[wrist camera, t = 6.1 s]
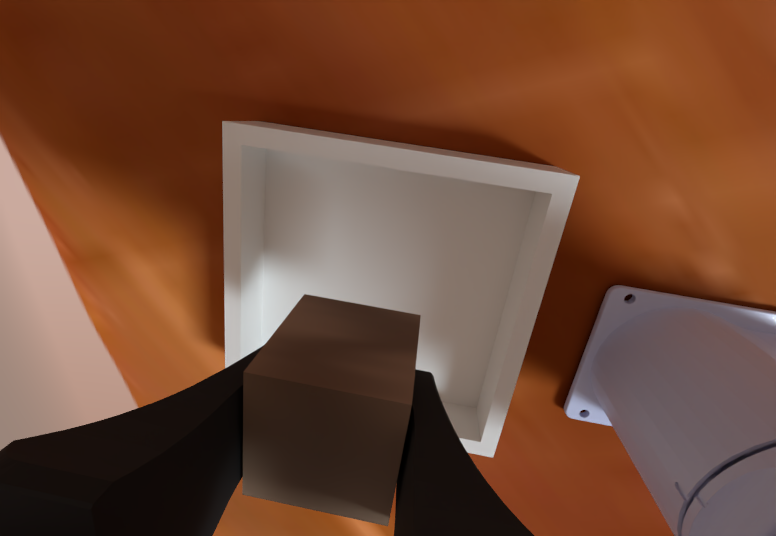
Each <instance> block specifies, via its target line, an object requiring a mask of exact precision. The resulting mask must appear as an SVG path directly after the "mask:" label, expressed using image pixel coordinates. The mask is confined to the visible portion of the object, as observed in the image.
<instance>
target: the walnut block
mask: <svg viewBox="0 0 776 536" xmlns="http://www.w3.org/2000/svg"><path fill="white" fill-rule="evenodd" d="M420 318H421V315H417V314H412V313H406V312H401V311H395V310H390V309H384V308H379V307H373V306H368V305H362V304H357V303H351V302H346V301H340V300H334V299H329V298H323V297H318V296H312V295H307V294H304V295H303V297H302V298H301V299H300V300H299V302H298V303H297V304H296V305H295V307H294V308H293V309H292V311H291V312H290V313H289V314H288V316H287V317H286V318H285V320H284V321H283V322H282V323H281V325H280V326H279V327H278V328H277V330H276V331H275V332H274V334H273V335H272V336H271V337H270V339H269V340H268V341H267V342H266V344H265V345H264V346H263V348H262V349H261V350H260V351H259V353H258V354H257V355H256V357H255V358H254V359H253V360H252V362H251V363H250V364H249V365H248V367H247V368H246V369H245V371H244V372H243V495H247V496H252V497H256V498H261V499H266V500H270V501H275V502H279V503H284V504H289V505H293V506H298V507H303V508H307V509H312V510H316V511H321V512H326V513H330V514H335V515H339V516H344V517H349V518H353V519H358V520H362V521H367V522H372V523H376V524H381V525H385V526H388V523H389V518H390V513H391V508H392V503H393V498H394V493H395V488H396V483H397V478H398V473H399V468H400V463H401V457H402V452H403V447H404V442H405V437H406V432H407V427H408V422H409V417H410V412H411V407H412V399H413V389H414V379H415V369H416V358H417V348H418V338H419V328H420Z"/></svg>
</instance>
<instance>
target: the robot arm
mask: <svg viewBox="0 0 776 536" xmlns="http://www.w3.org/2000/svg"><path fill="white" fill-rule="evenodd" d="M628 294H632V297H631V299H629V300H627V301H624V298H625V297H626V296H627V295H628ZM262 348H263V346H262V347H260V348H259V349H257V350H255V351H254V352H252V353H250V354H249V355H247V356H245V357H244V358H242V359H240V360H239V361H237V362H235V363H234V364H232V365H230V366H229V367H227V368H225V369H223V370H222V371H220V372H218V373H216V374H214V375H212V376H210V377H208V378H207V379H205V380H203V381H201V382H199V383H197V384H195V385H193V386H191V387H189V388H187V389H185V390H183V391H180V392H178V393H176V394H174V395H171V396H169V397H167V398H164V399H162V400H159V401H157V402H154V403H152V404H149V405H146V406H143V407H140V408H137V409H135V410H132V411H129V412H126V413H123V414H120V415H117V416H114V417H111V418H108V419H104V420H101V421H97V422H94V423H90V424H86V425H83V426H79V427H75V428H71V429H67V430H63V431H58V432H53V433H49V434H44V435H39V436H35V437H30V438H25V439H20V440H15V441H13V442H11V443H10V444H9V445H8V446H6V447H5V448H3V449H2V450H1V451H0V536H212V535H213V533H214V531H215V529H216V527H217V525H218V523H219V520H220V518H221V516H222V514H223V512H224V510H225V508H226V506H227V504H228V501H229V499H230V498H231V496H232V494H233V492H234V490H235V488H236V487H237V485H238V483H239V481H240V480H241V478H242V476H243V372H244V371H245V369H246V368H247V367H248V365H249V364H250V363H251V362H252V360H253V359H254V358H255V357H256V355H257V354H258V353H259V351H260V350H261V349H262ZM582 410H586V412H583V413H580V411H582ZM564 411H565V413H566V415H567V416H568V417H569V418H572V419H577V420H582V421H588V422H593V423H598V424H603V425H608V426H613V428H614V430H615V431H616V433H617V435H618V437H619V438H620V440H621V442H622V444H623V445H624V447H625V449H626V451H627V453H628V454H629V456H630V458H631V460H632V461H633V463H634V465H635V467H636V468H637V470H638V472H639V474H640V476H641V477H642V479H643V481H644V483H645V484H646V486H647V488H648V490H649V491H650V493H651V495H652V497H653V499H654V500H655V502H656V504H657V506H658V507H659V509H660V511H661V513H662V514H663V516H664V518H665V520H666V522H667V523H668V525H669V527H670V529H671V530H672V532H673V534H674V536H776V312H774V311H769V310H763V309H757V308H751V307H745V306H739V305H733V304H728V303H722V302H716V301H710V300H704V299H698V298H692V297H687V296H681V295H675V294H669V293H663V292H657V291H651V290H646V289H640V288H634V287H628V286H622V285H615V286H612V287H610V288H609V289H608V290H607V292H606V294H605V297H604V300H603V302H602V305H601V308H600V310H599V313H598V316H597V319H596V321H595V324H594V327H593V329H592V332H591V335H590V337H589V340H588V343H587V345H586V348H585V351H584V354H583V356H582V359H581V362H580V364H579V367H578V370H577V372H576V375H575V378H574V380H573V383H572V386H571V389H570V391H569V394H568V397H567V399H566V402H565V405H564ZM394 536H534V535H533V534H532V533H531V532H530V531H529V530H528V529H527V528H526V527H525V526H524V525H523V524H522V523H521V522H520V521H519V519H518V518H517V517H516V516H515V515H514V514H513V513H512V512H511V511H510V510H509V509H508V507H507V506H506V505H505V504H504V503H503V501H502V500H501V499H500V498H499V496H498V495H497V494H496V493H495V491H494V490H493V489H492V488H491V486H490V485H489V484H488V483H487V481H486V480H485V479H484V477H483V476H482V474H481V473H480V471H479V470H478V469H477V467H476V466H475V464H474V462H473V461H472V459H471V458H470V456H469V455H468V453H467V451H466V450H465V448H464V446H463V444H462V443H461V441H460V439H459V437H458V435H457V433H456V432H455V430H454V428H453V426H452V424H451V421H450V419H449V417H448V415H447V413H446V410H445V408H444V406H443V403H442V401H441V398H440V396H439V393H438V390H437V387H436V384H435V380H434V376H433V375H432V373H431V372H427V371H422V370H417V369H415V379H414V389H413V399H412V407H411V412H410V417H409V422H408V427H407V432H406V437H405V442H404V447H403V452H402V457H401V463H400V468H399V473H398V478H397V485H396V513H395V530H394Z"/></svg>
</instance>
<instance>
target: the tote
mask: <svg viewBox="0 0 776 536" xmlns="http://www.w3.org/2000/svg"><path fill="white" fill-rule="evenodd" d="M222 148H223V228H224V308H225V368H227V367H229V366H230V365H232V364H234V363H235V362H237V361H239V360H240V359H242V358H244V357H245V356H247V355H249V354H250V353H252V352H254V351H255V350H257V349H259V348H260V347H262V346H264V345H265V344H266V342H267V341H268V340H269V339H270V337H271V336H272V335H273V334H274V332H275V331H276V330H277V328H278V327H279V326H280V325H281V323H282V322H283V321H284V320H285V318H286V317H287V316H288V314H289V313H290V312H291V311H292V309H293V308H294V307H295V305H296V304H297V303H298V302H299V300H300V299H301V298H302V297H303V295H304V294H307V295H312V296H318V297H323V298H329V299H334V300H340V301H346V302H351V303H357V304H362V305H368V306H373V307H379V308H384V309H390V310H395V311H401V312H406V313H412V314H417V315H421V318H420V328H419V338H418V348H417V358H416V369H417V370H422V371H427V372H431V373H432V375H433V376H434V380H435V384H436V387H437V390H438V393H439V396H440V398H441V401H442V403H443V406H444V408H445V410H446V413H447V415H448V417H449V419H450V421H451V424H452V426H453V428H454V430H455V432H456V433H457V435H458V437H459V439H460V441H461V443H462V444H463V446H464V448H465V450H466V451H467V452H468V453H473V454H478V455H483V456H488V457H492V458H493V456H494V453H495V450H496V447H497V443H498V440H499V437H500V434H501V431H502V427H503V424H504V421H505V418H506V414H507V411H508V408H509V405H510V401H511V398H512V395H513V392H514V388H515V385H516V382H517V379H518V376H519V372H520V369H521V366H522V363H523V359H524V356H525V353H526V350H527V346H528V343H529V340H530V337H531V333H532V330H533V327H534V324H535V321H536V317H537V314H538V311H539V308H540V304H541V301H542V298H543V295H544V291H545V288H546V285H547V282H548V278H549V275H550V272H551V269H552V265H553V262H554V259H555V256H556V253H557V249H558V246H559V243H560V240H561V236H562V233H563V230H564V227H565V223H566V220H567V217H568V214H569V210H570V207H571V204H572V201H573V198H574V194H575V191H576V188H577V185H578V181H579V178H580V176H578V175H576V174H573V173H571V172H568V171H566V170H563V169H561V168H558V167H556V166H550V165H543V164H537V163H530V162H524V161H517V160H511V159H504V158H498V157H491V156H485V155H478V154H472V153H465V152H458V151H452V150H445V149H439V148H432V147H426V146H419V145H413V144H406V143H400V142H393V141H387V140H380V139H374V138H367V137H360V136H354V135H347V134H341V133H334V132H328V131H321V130H315V129H308V128H302V127H295V126H289V125H282V124H275V123H269V122H262V121H222Z"/></svg>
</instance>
